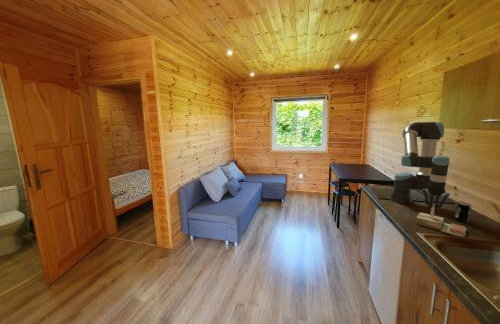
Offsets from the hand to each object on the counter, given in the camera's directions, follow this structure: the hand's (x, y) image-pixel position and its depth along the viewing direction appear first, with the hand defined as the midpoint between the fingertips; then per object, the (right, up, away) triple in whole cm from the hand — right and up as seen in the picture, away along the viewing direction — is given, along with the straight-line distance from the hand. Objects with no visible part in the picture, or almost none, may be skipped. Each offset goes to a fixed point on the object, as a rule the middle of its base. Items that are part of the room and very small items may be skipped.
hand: (431, 216), depth 132 cm
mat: (+7, -7, -7) cm, 12 cm away
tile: (+8, -5, -9) cm, 12 cm away
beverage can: (+23, -4, +4) cm, 24 cm away
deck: (-1, -5, +1) cm, 5 cm away
